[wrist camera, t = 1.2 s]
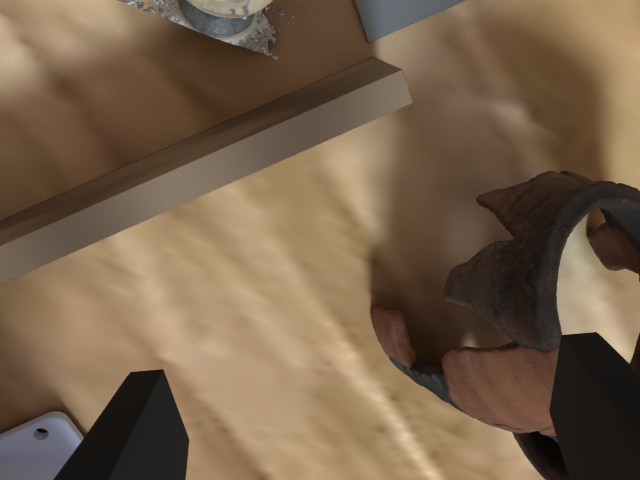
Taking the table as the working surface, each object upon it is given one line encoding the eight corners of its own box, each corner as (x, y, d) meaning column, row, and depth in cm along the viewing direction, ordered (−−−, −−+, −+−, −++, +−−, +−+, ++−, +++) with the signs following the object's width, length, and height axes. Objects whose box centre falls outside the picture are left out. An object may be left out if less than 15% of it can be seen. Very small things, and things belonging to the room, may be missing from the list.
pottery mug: (314, 254, 23) (467, 242, 16) (477, 151, 27) (657, 105, 20) (442, 512, 25) (629, 607, 18) (575, 380, 29) (769, 413, 22)
